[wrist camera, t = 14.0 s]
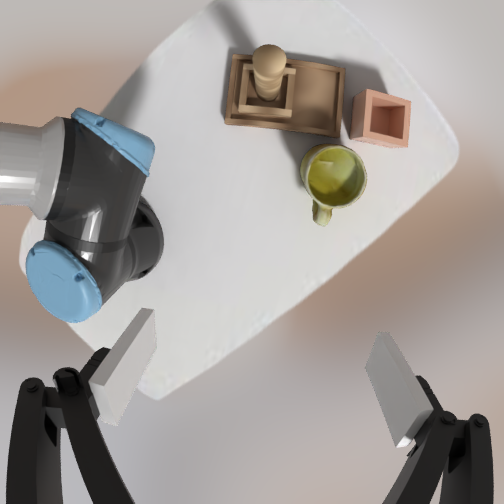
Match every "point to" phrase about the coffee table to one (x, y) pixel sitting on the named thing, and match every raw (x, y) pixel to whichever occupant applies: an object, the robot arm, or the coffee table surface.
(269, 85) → the dowel
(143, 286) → the coffee table surface
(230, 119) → the tray
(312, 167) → the mug
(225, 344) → the coffee table surface
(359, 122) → the pink hollow box
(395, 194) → the coffee table surface
